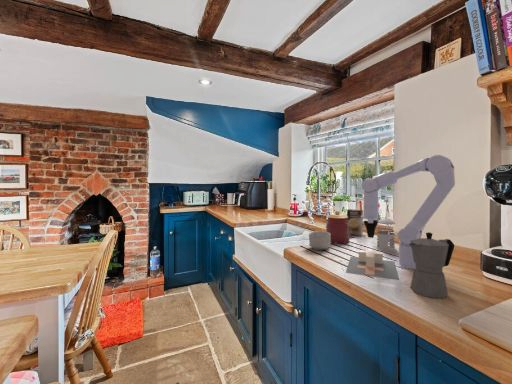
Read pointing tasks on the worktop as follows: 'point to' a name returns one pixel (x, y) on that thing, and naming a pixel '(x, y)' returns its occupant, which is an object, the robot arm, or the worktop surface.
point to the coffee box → (355, 221)
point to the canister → (338, 227)
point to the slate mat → (373, 269)
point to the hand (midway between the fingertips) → (370, 237)
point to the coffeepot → (430, 266)
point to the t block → (371, 258)
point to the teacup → (319, 240)
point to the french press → (386, 236)
